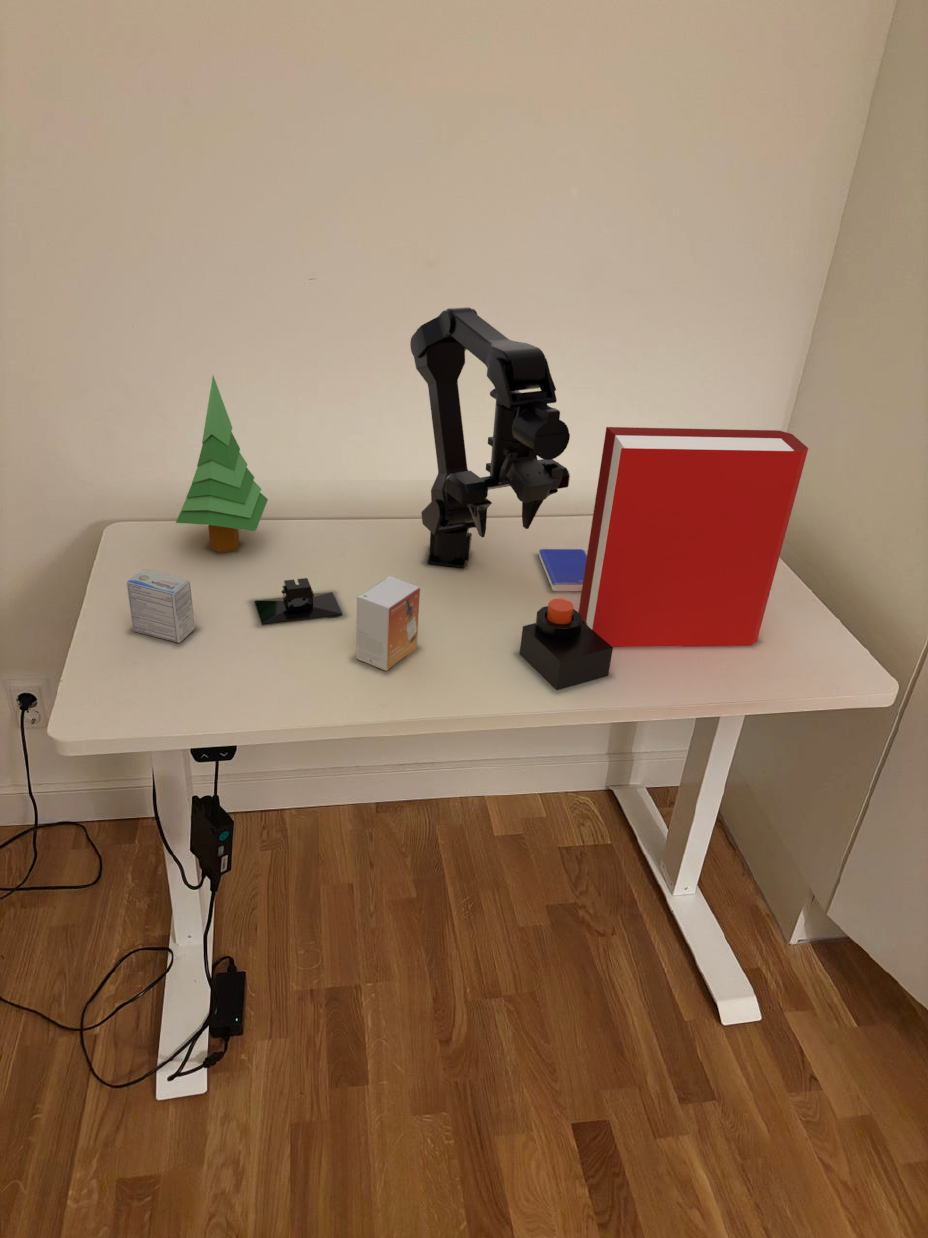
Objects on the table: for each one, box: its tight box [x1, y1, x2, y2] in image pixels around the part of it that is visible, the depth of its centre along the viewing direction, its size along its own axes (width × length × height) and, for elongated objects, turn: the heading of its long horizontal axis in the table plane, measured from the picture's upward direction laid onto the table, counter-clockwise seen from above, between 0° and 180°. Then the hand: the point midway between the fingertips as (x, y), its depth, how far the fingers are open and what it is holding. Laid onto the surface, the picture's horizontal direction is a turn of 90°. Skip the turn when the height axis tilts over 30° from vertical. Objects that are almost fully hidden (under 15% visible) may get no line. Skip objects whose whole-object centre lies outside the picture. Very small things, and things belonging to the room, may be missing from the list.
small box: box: [355, 575, 421, 672], centre depth 138 cm, size 8×6×10 cm
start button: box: [547, 598, 575, 624], centre depth 139 cm, size 4×4×2 cm
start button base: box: [519, 605, 614, 691], centre depth 140 cm, size 11×9×7 cm
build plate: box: [253, 577, 343, 626], centre depth 149 cm, size 12×7×5 cm, turn 109°
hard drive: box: [538, 548, 587, 592], centre depth 166 cm, size 2×8×12 cm
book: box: [577, 426, 809, 648], centre depth 143 cm, size 27×8×32 cm, turn 97°
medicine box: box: [126, 568, 196, 644], centre depth 140 cm, size 8×4×9 cm, turn 71°
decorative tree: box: [175, 375, 269, 554], centre depth 158 cm, size 14×16×30 cm
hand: (503, 532), depth 148 cm, fingers open, 8 cm apart
